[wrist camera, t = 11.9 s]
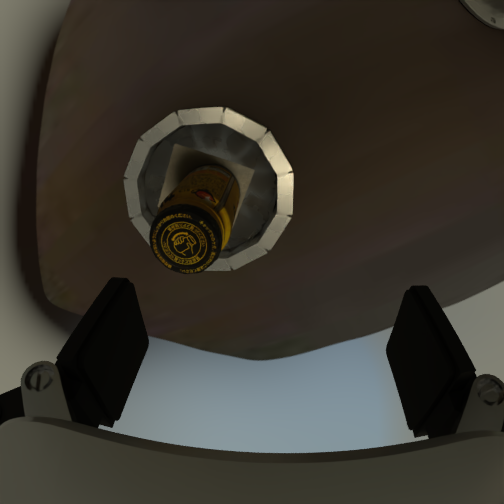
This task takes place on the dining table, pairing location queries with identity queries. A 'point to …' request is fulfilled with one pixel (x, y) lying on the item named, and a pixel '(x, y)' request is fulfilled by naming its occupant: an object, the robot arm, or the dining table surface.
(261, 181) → the faceted plate
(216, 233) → the condiment
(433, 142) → the dining table surface
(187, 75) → the dining table surface
